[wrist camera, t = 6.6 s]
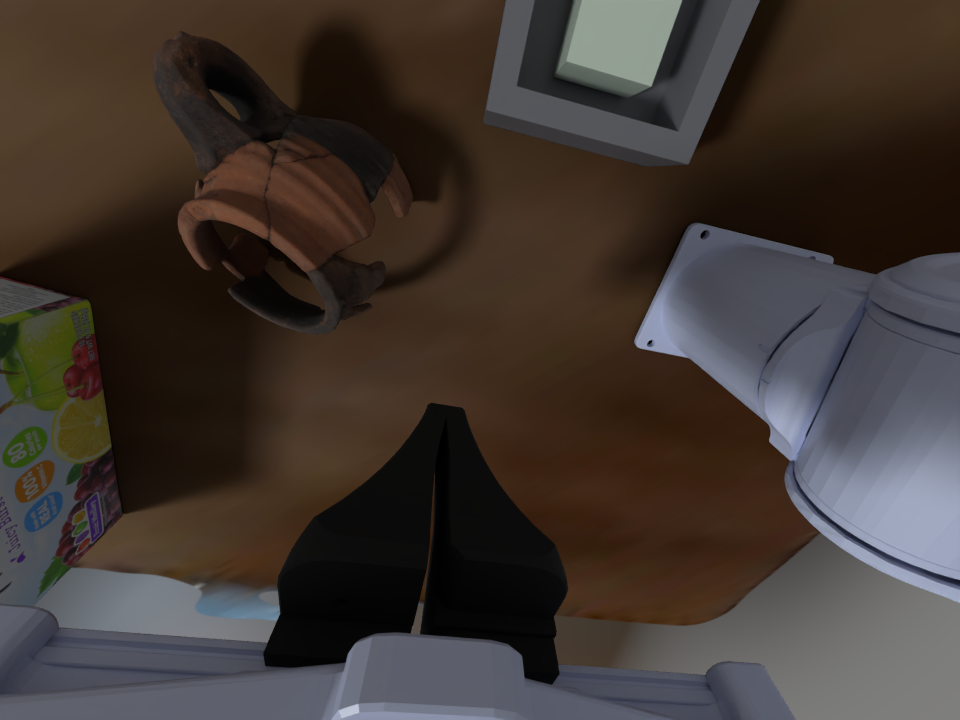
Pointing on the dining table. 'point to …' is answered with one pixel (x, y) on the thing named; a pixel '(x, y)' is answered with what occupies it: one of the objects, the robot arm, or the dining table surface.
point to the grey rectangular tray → (604, 116)
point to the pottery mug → (275, 185)
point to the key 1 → (615, 43)
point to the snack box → (50, 440)
